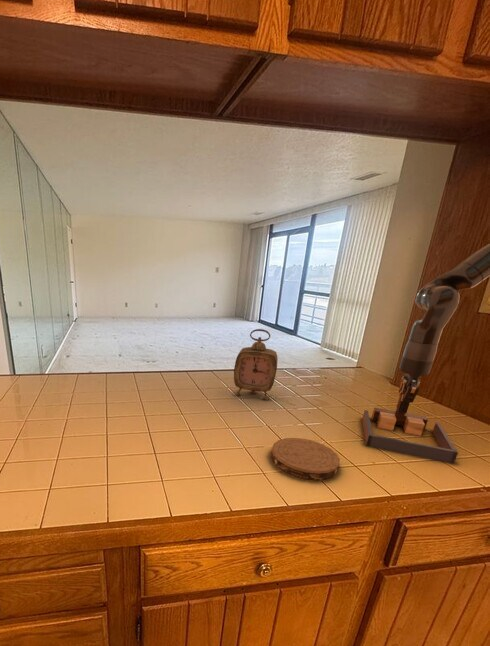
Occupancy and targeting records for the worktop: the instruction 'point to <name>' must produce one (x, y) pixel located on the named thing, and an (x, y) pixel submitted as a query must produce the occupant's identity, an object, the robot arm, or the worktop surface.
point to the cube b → (414, 426)
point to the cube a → (386, 421)
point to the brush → (398, 415)
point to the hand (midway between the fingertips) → (401, 410)
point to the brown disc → (305, 459)
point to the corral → (412, 443)
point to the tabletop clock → (255, 367)
